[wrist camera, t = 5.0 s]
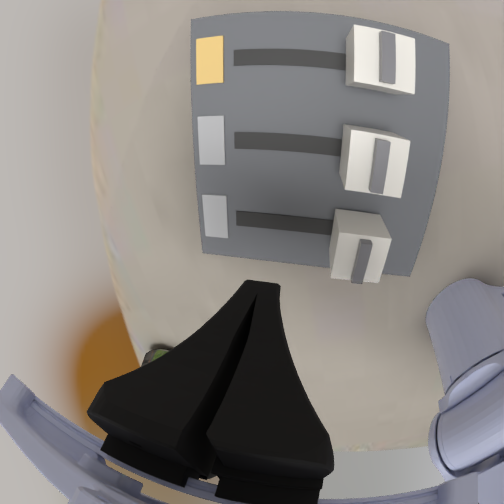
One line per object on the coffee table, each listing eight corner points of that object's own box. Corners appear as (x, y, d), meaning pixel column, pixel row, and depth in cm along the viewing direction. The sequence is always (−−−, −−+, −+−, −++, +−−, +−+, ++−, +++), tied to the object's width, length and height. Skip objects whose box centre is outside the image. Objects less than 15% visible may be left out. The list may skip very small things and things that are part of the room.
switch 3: (379, 214, 15) (394, 244, 12) (370, 254, 16) (379, 288, 13) (335, 208, 15) (339, 237, 12) (329, 249, 17) (330, 283, 14)
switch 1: (396, 48, 9) (418, 36, 6) (395, 94, 11) (418, 94, 8) (345, 38, 10) (355, 21, 7) (345, 85, 11) (355, 80, 8)
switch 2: (392, 132, 12) (414, 142, 9) (385, 179, 14) (403, 202, 11) (343, 124, 13) (353, 131, 10) (339, 172, 14) (346, 193, 11)
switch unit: (435, 48, 10) (449, 43, 8) (403, 261, 18) (410, 277, 17) (203, 26, 12) (190, 19, 11) (211, 239, 21) (202, 253, 19)
